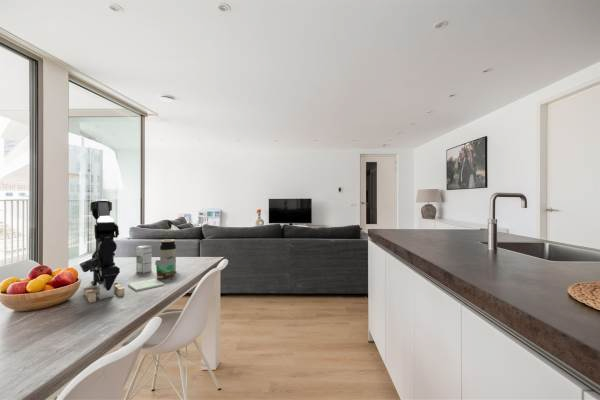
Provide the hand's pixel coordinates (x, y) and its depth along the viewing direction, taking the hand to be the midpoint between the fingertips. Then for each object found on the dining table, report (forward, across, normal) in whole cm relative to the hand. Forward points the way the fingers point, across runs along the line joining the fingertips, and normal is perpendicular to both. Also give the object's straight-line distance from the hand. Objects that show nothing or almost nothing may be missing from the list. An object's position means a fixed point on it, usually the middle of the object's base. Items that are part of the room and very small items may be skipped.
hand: (105, 287), depth 117 cm
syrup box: (+4, -33, +25) cm, 41 cm away
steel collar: (+4, 0, 0) cm, 4 cm away
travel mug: (+4, -22, +34) cm, 41 cm away
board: (+4, -4, +17) cm, 18 cm away
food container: (+4, -11, +30) cm, 32 cm away
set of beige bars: (+3, -2, 0) cm, 4 cm away
